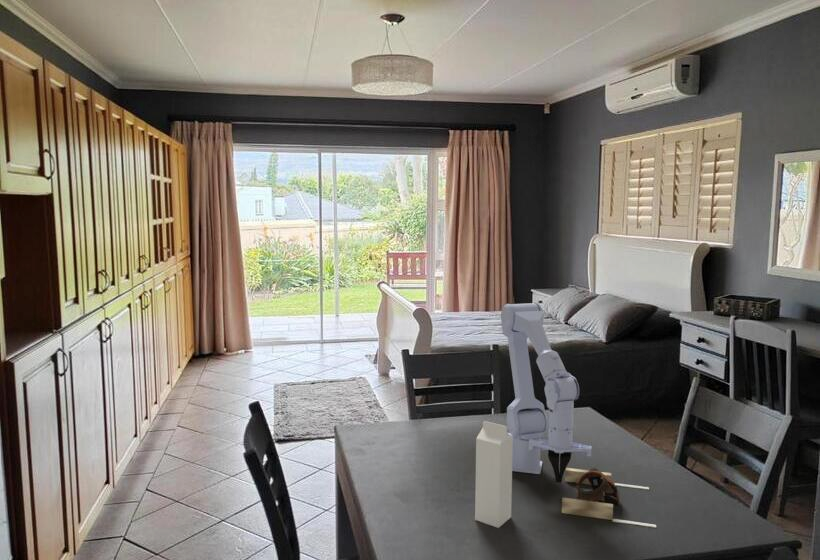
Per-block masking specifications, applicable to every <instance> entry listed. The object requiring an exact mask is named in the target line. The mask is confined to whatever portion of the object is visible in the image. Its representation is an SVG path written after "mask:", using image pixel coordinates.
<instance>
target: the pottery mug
mask: <svg viewBox="0 0 820 560" xmlns="http://www.w3.org/2000/svg"><path fill="white" fill-rule="evenodd" d="M601 472H602V471H600V470H598V469H597V468H596V467H593V468H590V469H589V471H588V472H586V473H584V474H583V475H581V476H580V477H579V478H578V480H577V482H576V493H575V494H576V495H575V496H576V499H579V500H586V501H593V502H599V501H602V502H605V501H606V500H605V495H606V496H607V497H613V498H614V499H616V501H617V505H618V506H620V505H621V501H620V495H619V492H618V489H617V487H618V486H615V484H614V483H615V482H614V481H613V480H612V478H611V479H610V478H609V477H607V476H605V475H604V474H603V473H601ZM601 477H602V478H603V479H601ZM587 478H588V480H589V483H590V484H591V485H590V484H589V485H590V487H591V489H592V490H585V489H583V488H582V487H581V484H582V482H583V481H584V480H585V479H587Z"/></svg>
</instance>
